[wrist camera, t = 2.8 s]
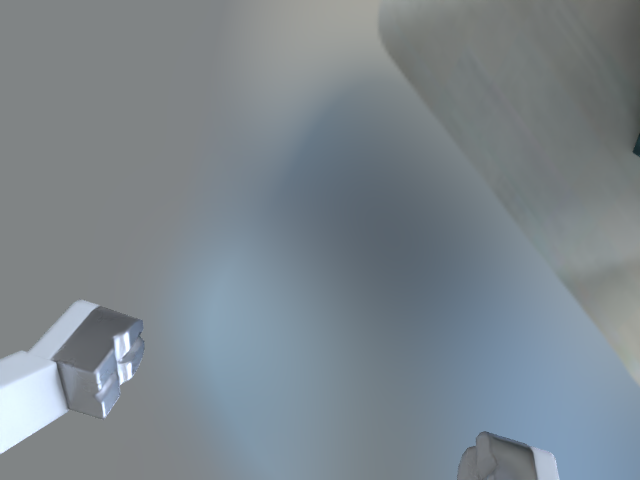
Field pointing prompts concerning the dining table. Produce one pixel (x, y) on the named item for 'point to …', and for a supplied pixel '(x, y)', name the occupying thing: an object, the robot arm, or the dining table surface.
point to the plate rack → (637, 147)
